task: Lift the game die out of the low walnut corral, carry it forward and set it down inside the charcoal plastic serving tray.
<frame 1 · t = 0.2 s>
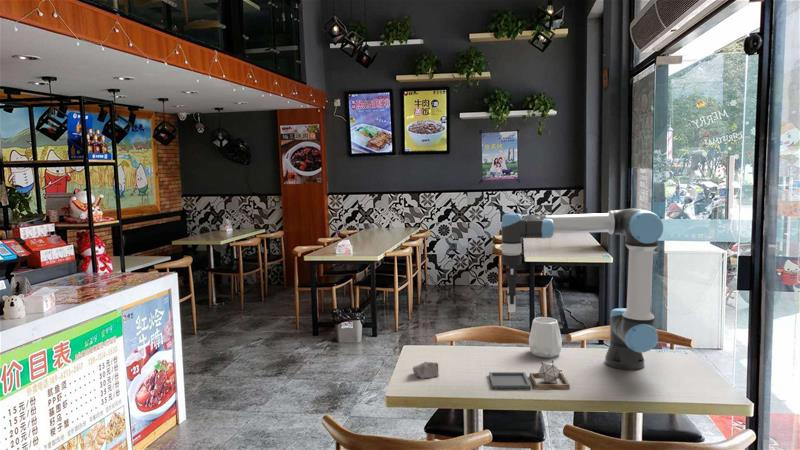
hand: (511, 307, 235), 27 cm above the table, fingers open, 13 cm apart
stone: (425, 376, 239), on the table
tray: (509, 382, 230), on the table
corral: (549, 382, 230), on the table
game die: (549, 383, 230), on the table
vase: (544, 354, 263), on the table
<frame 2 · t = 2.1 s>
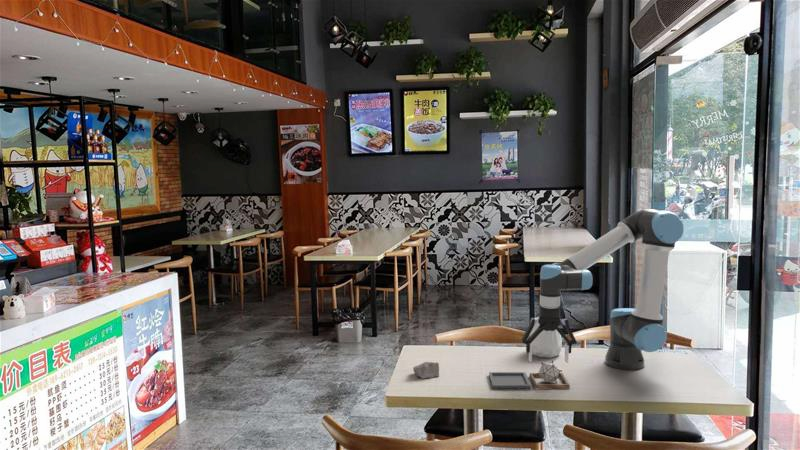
hand: (548, 361, 229), 8 cm above the table, fingers open, 13 cm apart
nothing on the table moved.
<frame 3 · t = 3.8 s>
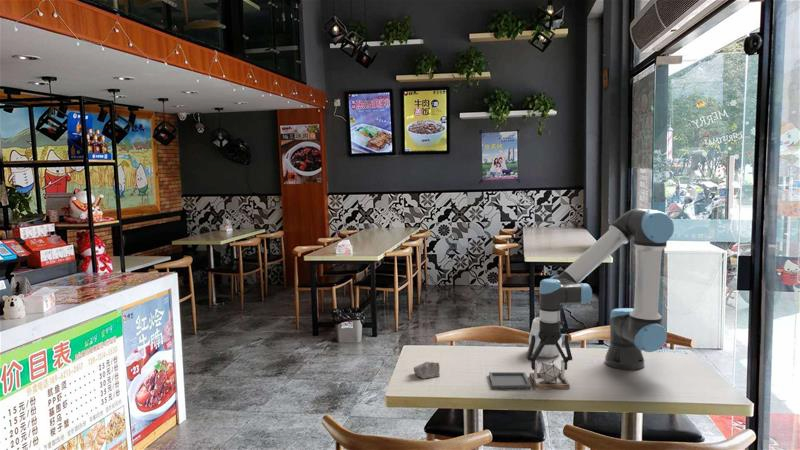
hand: (549, 377, 230), 2 cm above the table, fingers closed on game die, 9 cm apart
game die: (549, 382, 230), on the table, touching gripper
everything else where it was.
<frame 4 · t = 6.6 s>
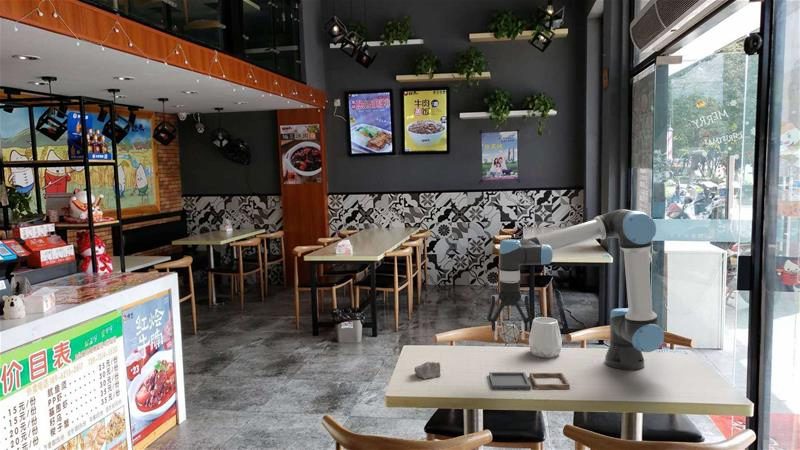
hand: (509, 339, 229), 17 cm above the table, fingers closed on game die, 9 cm apart
game die: (509, 344, 229), point 15 cm above the table, touching gripper
everything else where it was.
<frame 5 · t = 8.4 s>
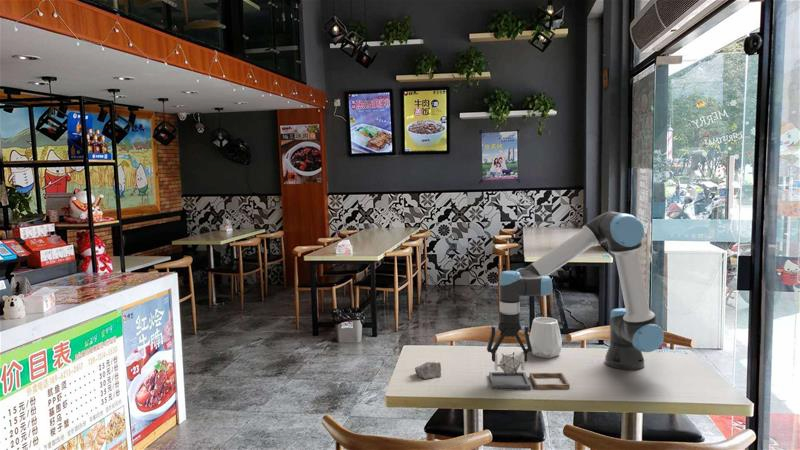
hand: (509, 369, 230), 5 cm above the table, fingers closed on game die, 9 cm apart
game die: (509, 374, 230), point 3 cm above the table, touching gripper
when the fingers open (3 cm above the table, at t = 9.4 s): game die drops 1 cm, resting on tray.
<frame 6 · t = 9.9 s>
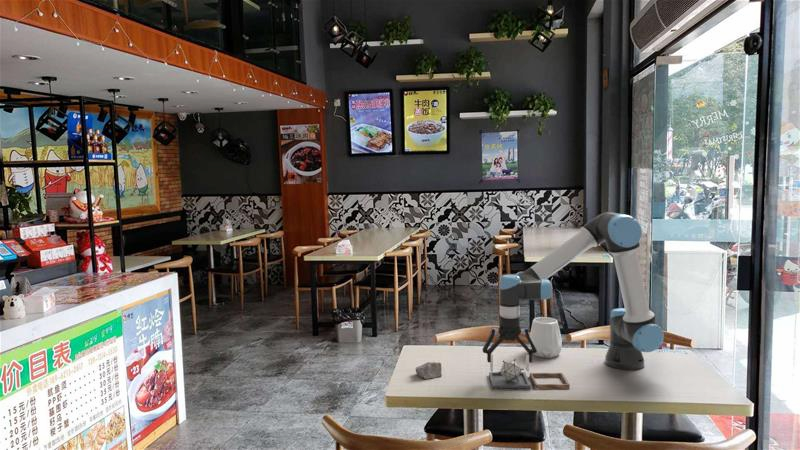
hand: (509, 370, 230), 5 cm above the table, fingers open, 13 cm apart
game die: (510, 381, 230), resting on tray
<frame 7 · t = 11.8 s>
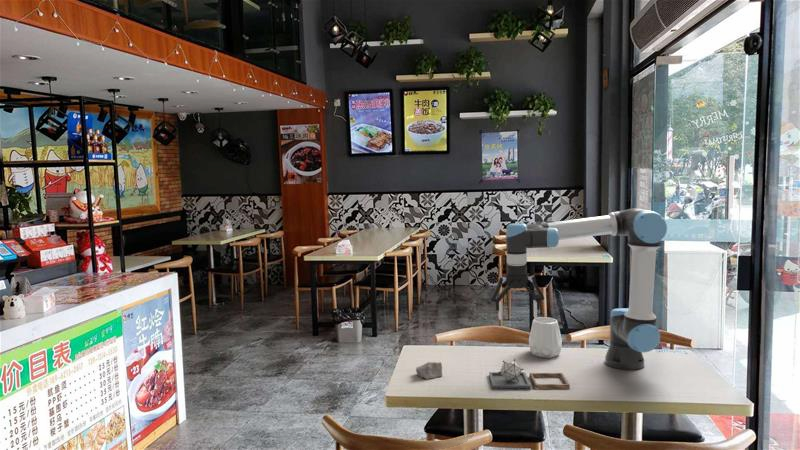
hand: (517, 318, 233), 24 cm above the table, fingers open, 13 cm apart
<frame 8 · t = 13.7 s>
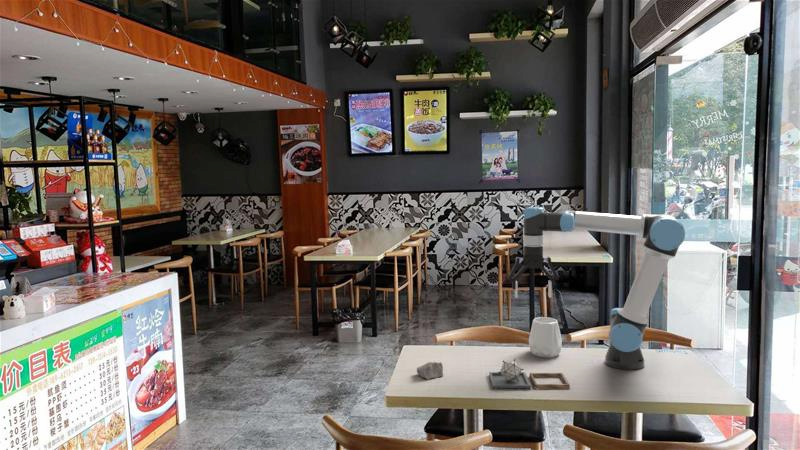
hand: (532, 297, 246), 29 cm above the table, fingers open, 13 cm apart
at the end: game die 0.5 cm from the tray (horizontally); game die resting on tray; the gripper is holding nothing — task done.
